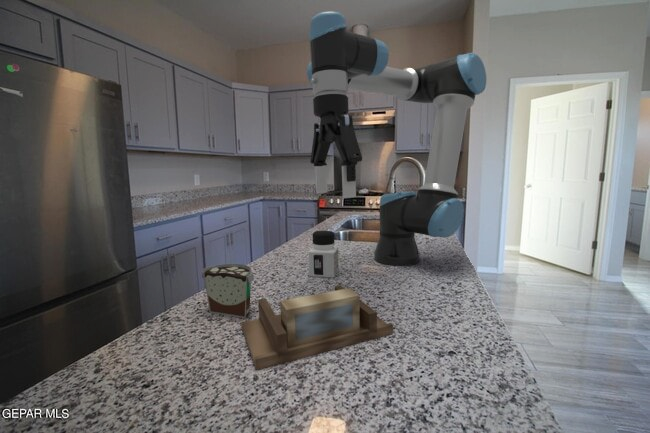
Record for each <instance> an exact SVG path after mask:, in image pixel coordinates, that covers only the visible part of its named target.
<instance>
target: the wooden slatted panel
mask: <svg viewBox="0 0 650 433" xmlns="http://www.w3.org/2000/svg"><path fill="white" fill-rule="evenodd" d="M342 289H346V288H345V286H342V285H336V286H334V291H336V290H342ZM257 303H258V304H257V305H258V318H257V319H256V318H255V319H252V320H247V321H242V322H241V325H240V326H241V330H242V332H243V334H244V335H243V336H244V338H245V341H246V344H247V347H248V351H249V353H250V356H251V359H252V361H253V365H254V367H255V371H258V370H260V369H266V368H269V367H272V366H276V365H280V364H283V363H287V362H291V361H295V360H298V359H302V358H307V357H309V356H313V355H317V354H318V355H319V354H320V353H324V352H328V351H332V350H336V349H340V348H343V347H348V346H352V345H355V344H359V343H362V342H366V341H369V340H373V339H377V338H381V337H385V336H389V335H392V334H394V324H393V323H391V322H389V323H387V322H385V321H384V320H382V318H380V317H379V316H378V312H377V311H375V309H373V308H371V307H370V306H369V305H368V304H367V303H365V302H364V301H362V300H361V299H360V331H356V332H352V333H348V334H344V335H340V336H336V337H332V338H328V339H324V340H320V341H316V342H312V343H308V344H304V345H300V346H296V347H292V348H287V333H286V331H285V330H284V328H283V326H282V325H281V313H279V314H276V313H275V312H274V310H273V308H272V306H271V305H270V303H269V301H268V300H267V298H265V299H258V302H257Z"/></svg>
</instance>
